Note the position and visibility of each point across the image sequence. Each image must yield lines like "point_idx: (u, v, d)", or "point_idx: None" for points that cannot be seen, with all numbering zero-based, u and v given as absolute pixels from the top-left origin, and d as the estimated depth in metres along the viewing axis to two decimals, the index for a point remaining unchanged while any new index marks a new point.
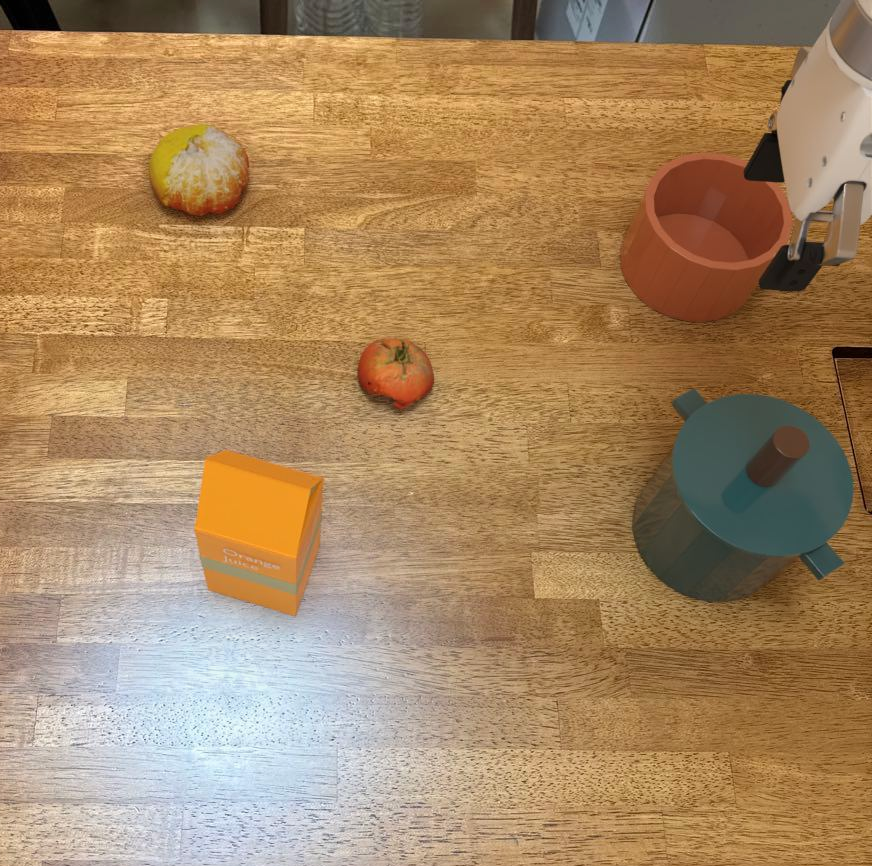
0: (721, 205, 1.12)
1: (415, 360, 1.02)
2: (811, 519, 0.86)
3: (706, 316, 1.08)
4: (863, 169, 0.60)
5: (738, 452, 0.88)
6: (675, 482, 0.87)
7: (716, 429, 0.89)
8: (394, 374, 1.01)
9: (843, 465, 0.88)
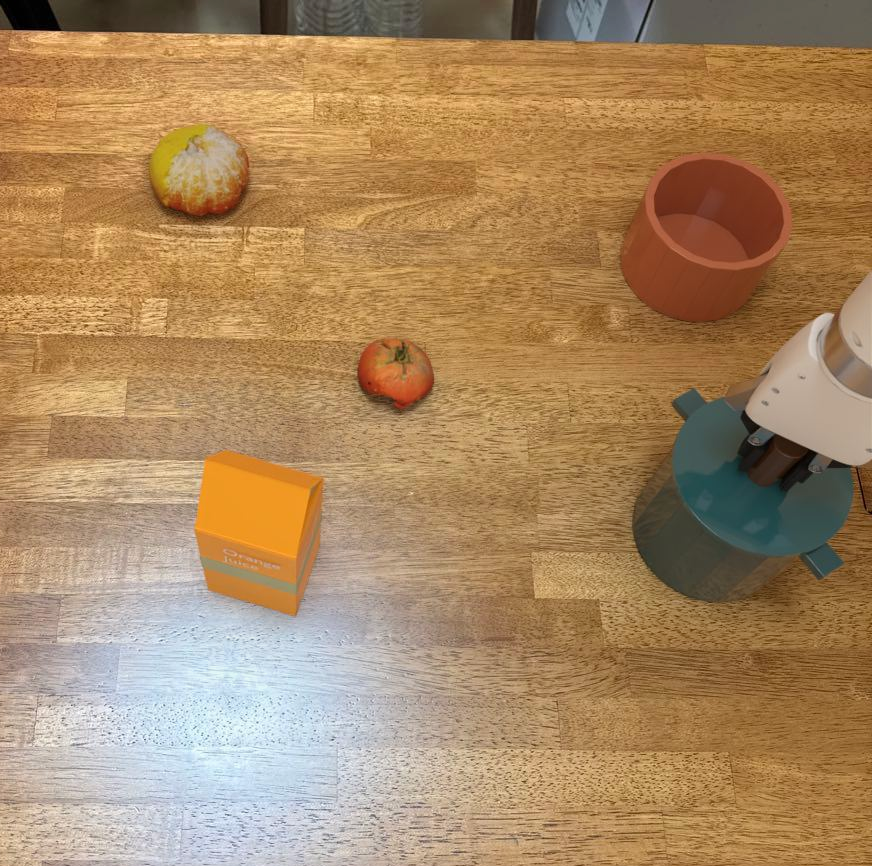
0: (721, 205, 1.12)
1: (415, 360, 1.02)
2: (811, 519, 0.86)
3: (706, 316, 1.08)
4: None
5: None
6: (675, 482, 0.87)
7: (716, 429, 0.89)
8: (394, 374, 1.01)
9: None
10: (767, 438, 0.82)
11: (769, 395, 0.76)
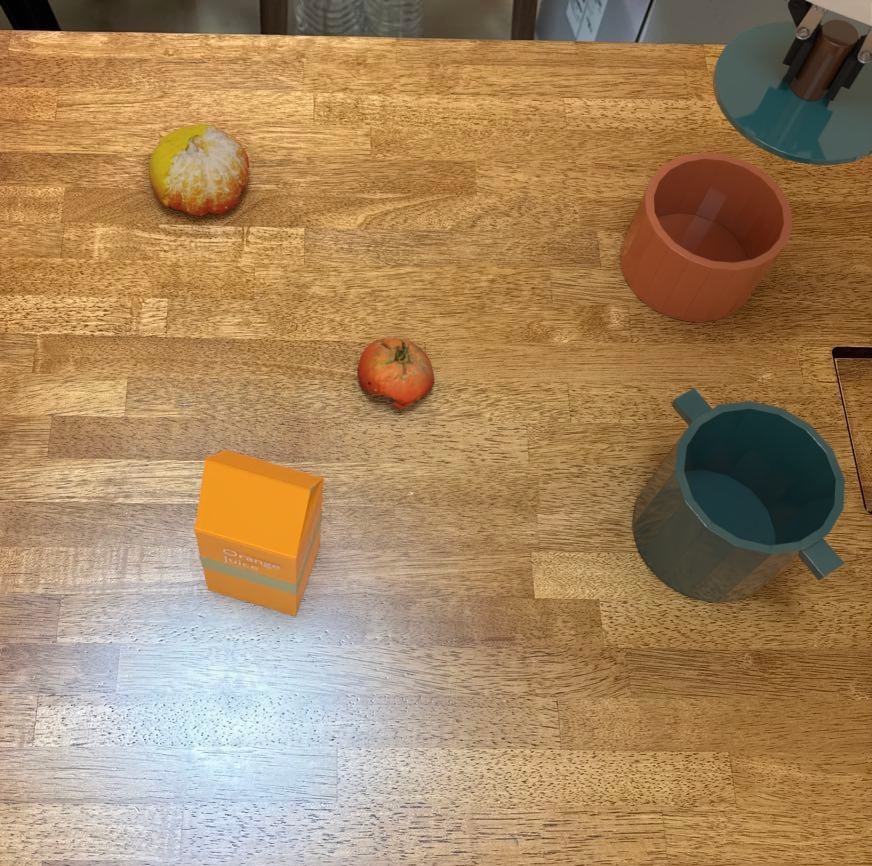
0: (721, 205, 1.12)
1: (415, 360, 1.02)
2: (859, 129, 0.84)
3: (706, 316, 1.08)
4: None
5: (782, 71, 0.86)
6: (718, 97, 0.85)
7: (759, 51, 0.87)
8: (394, 374, 1.01)
9: None
10: (816, 24, 0.79)
11: None
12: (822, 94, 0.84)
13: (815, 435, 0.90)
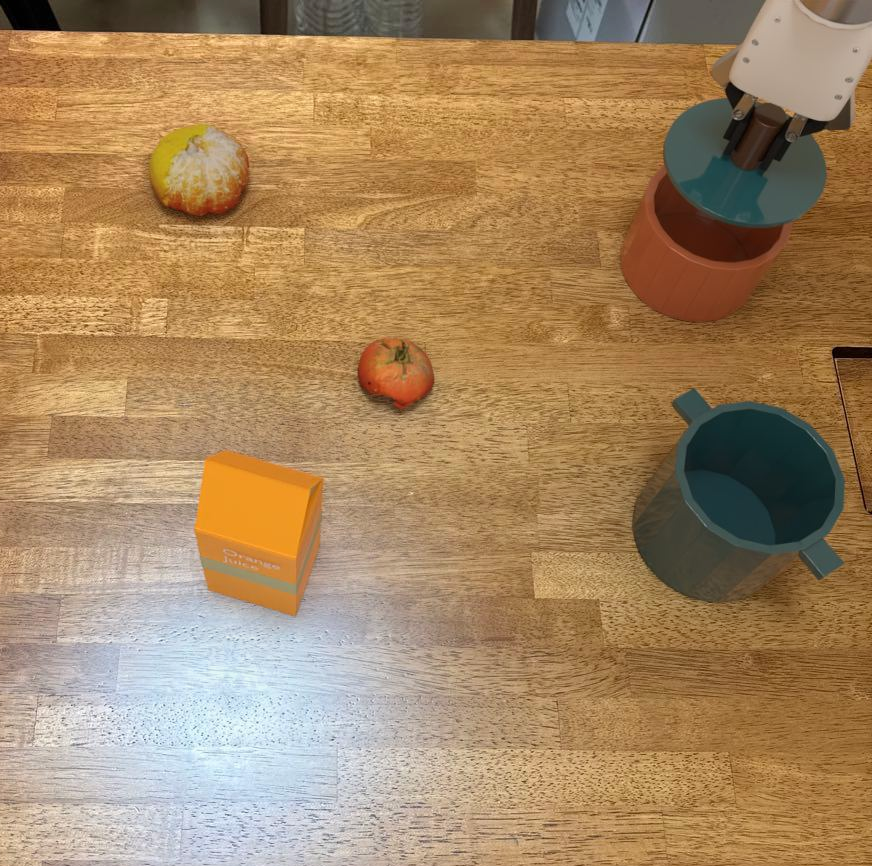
0: None
1: (415, 360, 1.02)
2: (788, 196, 0.96)
3: (706, 316, 1.08)
4: None
5: (723, 143, 0.98)
6: (667, 166, 0.97)
7: (704, 125, 0.99)
8: (394, 374, 1.01)
9: (817, 155, 0.98)
10: (748, 108, 0.92)
11: (749, 50, 0.86)
12: (757, 165, 0.97)
13: (815, 435, 0.90)
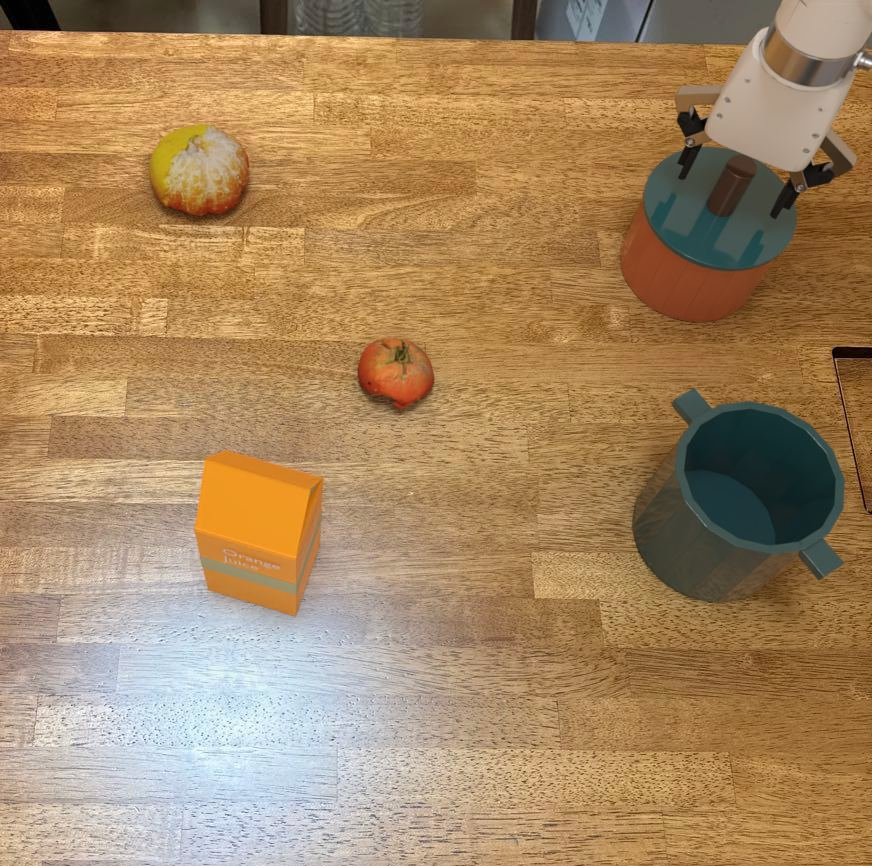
0: None
1: (415, 360, 1.02)
2: (760, 241, 1.02)
3: (706, 316, 1.08)
4: (833, 120, 0.90)
5: (700, 190, 1.04)
6: (646, 213, 1.03)
7: None
8: (394, 374, 1.01)
9: None
10: (699, 136, 0.97)
11: (722, 106, 0.92)
12: (731, 211, 1.02)
13: (815, 435, 0.90)
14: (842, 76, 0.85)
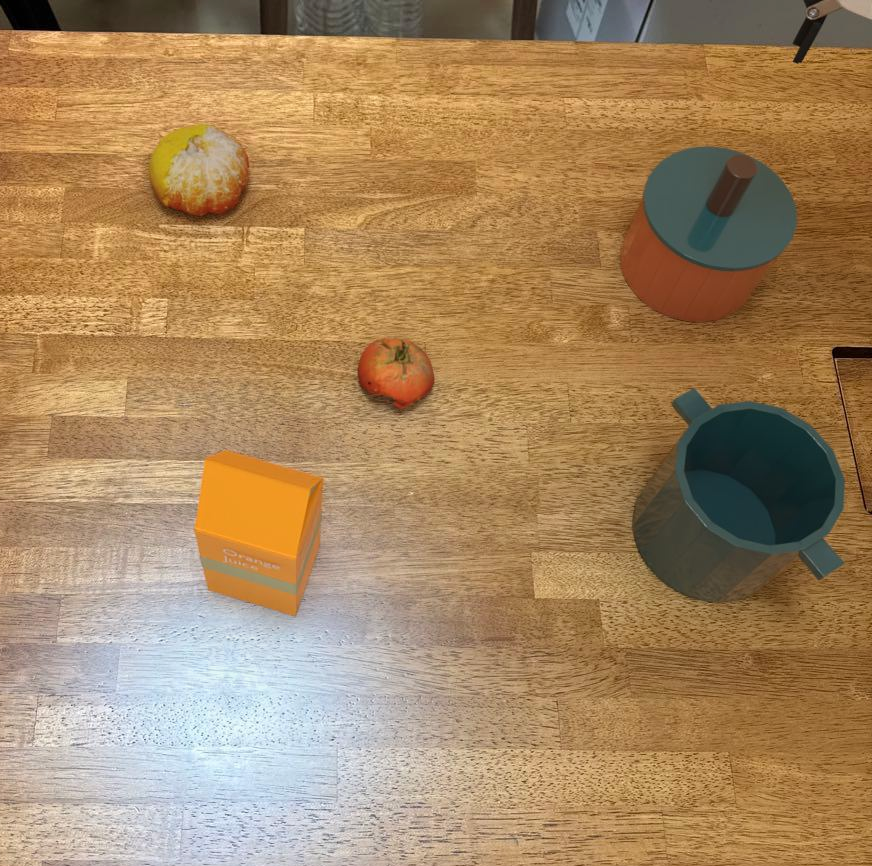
0: None
1: (415, 360, 1.02)
2: (760, 241, 1.02)
3: (706, 316, 1.08)
4: None
5: (700, 190, 1.04)
6: (646, 213, 1.03)
7: (681, 173, 1.05)
8: (394, 374, 1.01)
9: (789, 201, 1.04)
10: (826, 4, 0.81)
11: None
12: (731, 211, 1.02)
13: (815, 435, 0.90)
14: None
